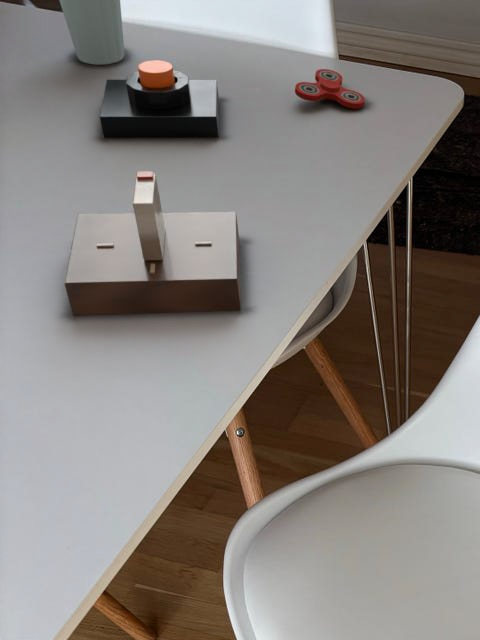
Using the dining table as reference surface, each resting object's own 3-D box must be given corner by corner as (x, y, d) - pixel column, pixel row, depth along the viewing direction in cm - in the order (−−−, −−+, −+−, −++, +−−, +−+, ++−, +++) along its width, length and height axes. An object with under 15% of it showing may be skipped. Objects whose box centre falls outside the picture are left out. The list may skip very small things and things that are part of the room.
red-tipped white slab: (163, 260, 87) (152, 200, 83) (143, 260, 87) (131, 200, 83) (165, 229, 91) (155, 170, 87) (146, 229, 90) (135, 170, 87)
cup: (86, 40, 126) (66, -58, 118) (144, 50, 125) (128, -49, 117) (56, 62, 121) (33, -39, 113) (116, 72, 120) (97, -29, 112)
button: (140, 90, 109) (136, 72, 107) (141, 77, 111) (138, 59, 110) (174, 90, 109) (171, 73, 108) (175, 77, 112) (173, 60, 110)
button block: (104, 138, 109) (95, 98, 106) (110, 100, 115) (103, 61, 112) (218, 137, 110) (213, 98, 108) (219, 100, 117) (214, 62, 114)
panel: (72, 315, 86) (63, 281, 84) (85, 245, 94) (77, 211, 91) (241, 310, 88) (236, 277, 86) (239, 242, 96) (235, 209, 94)
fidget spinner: (290, 84, 116) (289, 96, 117) (347, 110, 115) (346, 121, 116) (323, 63, 121) (322, 74, 122) (378, 87, 120) (377, 98, 121)
